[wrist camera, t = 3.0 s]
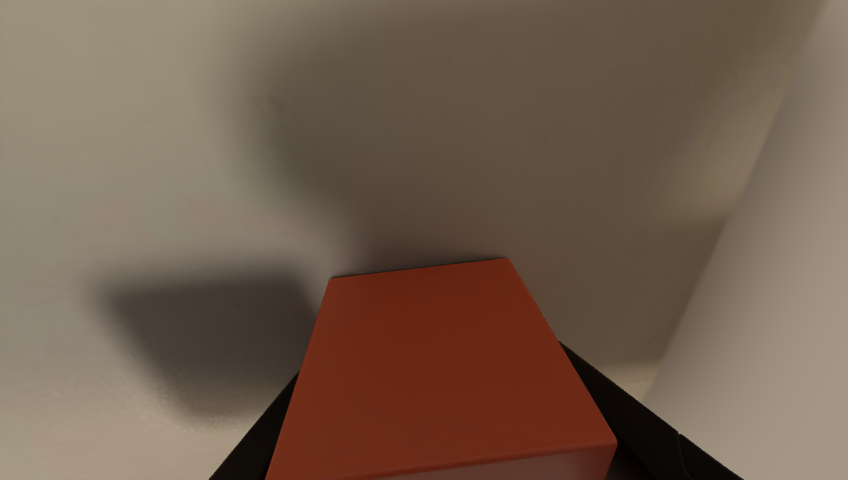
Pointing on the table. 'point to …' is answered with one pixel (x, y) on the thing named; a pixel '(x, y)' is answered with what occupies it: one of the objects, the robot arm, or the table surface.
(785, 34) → the table surface
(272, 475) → the terracotta block
